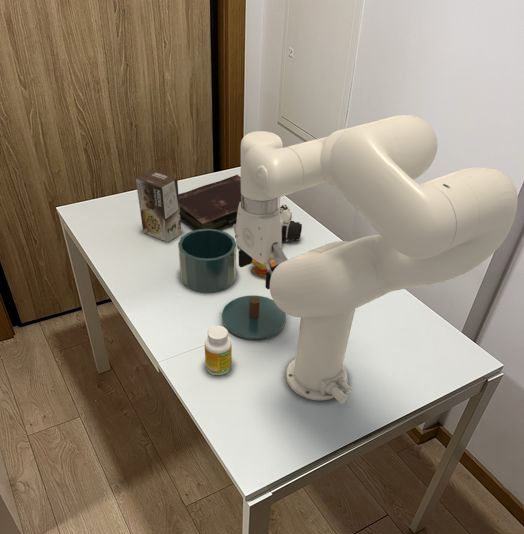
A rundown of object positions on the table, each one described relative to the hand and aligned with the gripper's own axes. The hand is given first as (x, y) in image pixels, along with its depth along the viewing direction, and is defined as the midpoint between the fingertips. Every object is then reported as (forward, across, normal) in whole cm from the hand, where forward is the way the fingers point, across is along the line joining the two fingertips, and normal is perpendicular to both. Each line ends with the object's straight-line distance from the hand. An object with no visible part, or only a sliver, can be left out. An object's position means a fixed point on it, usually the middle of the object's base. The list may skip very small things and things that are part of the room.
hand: (258, 275), depth 113 cm
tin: (+12, -21, 0) cm, 24 cm away
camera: (+12, -24, +27) cm, 38 cm away
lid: (+12, -1, 0) cm, 12 cm away
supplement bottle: (+13, +7, -15) cm, 21 cm away
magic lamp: (+13, -14, +13) cm, 23 cm away
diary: (+12, -46, +20) cm, 52 cm away
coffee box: (+12, -45, 0) cm, 47 cm away
